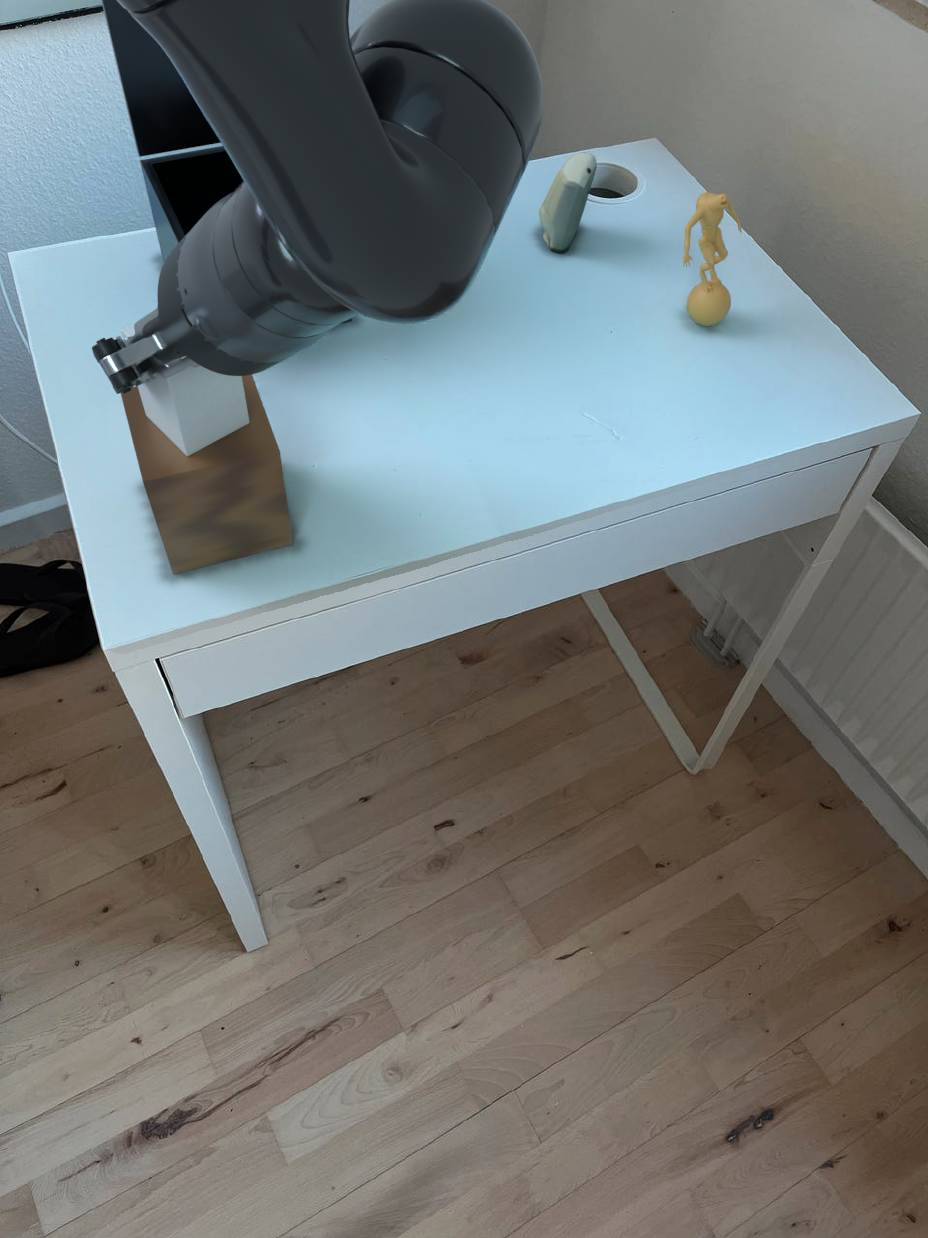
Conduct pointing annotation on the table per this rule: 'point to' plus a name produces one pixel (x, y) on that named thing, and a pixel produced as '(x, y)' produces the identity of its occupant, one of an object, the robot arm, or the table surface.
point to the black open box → (187, 190)
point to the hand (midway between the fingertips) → (168, 350)
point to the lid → (153, 89)
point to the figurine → (709, 260)
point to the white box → (194, 405)
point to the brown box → (213, 488)
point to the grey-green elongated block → (567, 201)
